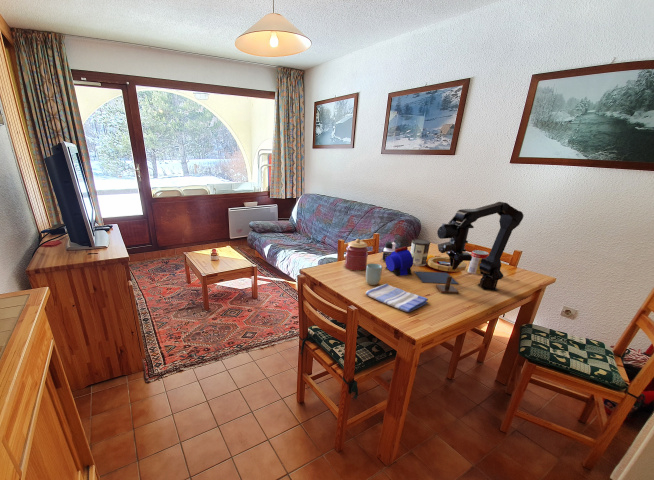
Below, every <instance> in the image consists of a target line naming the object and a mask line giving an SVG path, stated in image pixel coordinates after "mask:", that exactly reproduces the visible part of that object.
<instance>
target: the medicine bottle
mask: <svg viewBox="0 0 654 480" xmlns="http://www.w3.org/2000/svg"><path fill="white" fill-rule="evenodd" d="M396 245H397V244H396V243H395V242H394V241H386V242H385V245H384V248H383V251H382V256H381V257H382V258H381V262H383V263H386V257H387V256H390V255H391V253H392V252H393V251H395V249H396Z"/></svg>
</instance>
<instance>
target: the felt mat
mask: <svg viewBox="0 0 654 480" xmlns="http://www.w3.org/2000/svg"><path fill="white" fill-rule="evenodd" d="M413 272H414V274H415V275H416V276H417V278H418V279H419V280H420V281H421V282H422V283H425V284H426V283H427V284H443V285H446V281H447V277H448V276H451V275H450V274H449V273H448V272H441V271H440V272H437V271H413ZM450 285H459V283H458V282H457V281H456V280H455V279H454V278H453V277H452V280H451V284H450Z"/></svg>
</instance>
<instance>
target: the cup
mask: <svg viewBox="0 0 654 480" xmlns="http://www.w3.org/2000/svg"><path fill="white" fill-rule="evenodd" d="M382 271H383V266H382V265H381V264H380V263H367V267H366V269H365V282H366V284H368V285H369V286H378V285H379V283H380V281H381V279H382Z"/></svg>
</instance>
